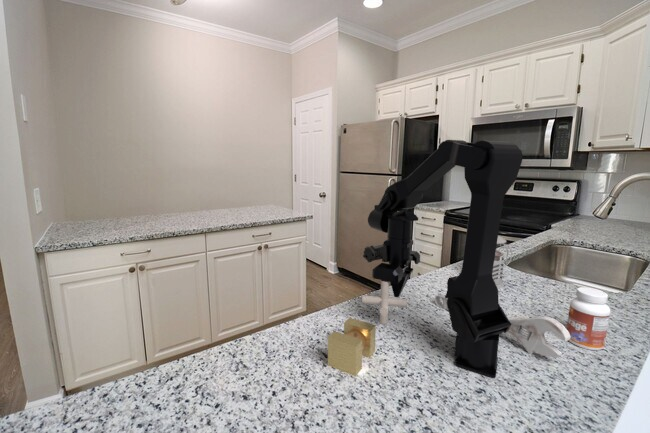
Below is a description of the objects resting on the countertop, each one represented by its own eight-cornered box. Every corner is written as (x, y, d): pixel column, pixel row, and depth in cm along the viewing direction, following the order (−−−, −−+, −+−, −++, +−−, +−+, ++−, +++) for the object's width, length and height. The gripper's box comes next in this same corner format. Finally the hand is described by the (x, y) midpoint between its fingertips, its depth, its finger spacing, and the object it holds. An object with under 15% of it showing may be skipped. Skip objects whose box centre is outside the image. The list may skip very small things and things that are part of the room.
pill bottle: (557, 334, 66) (564, 285, 64) (586, 334, 66) (594, 285, 64) (581, 351, 60) (589, 298, 58) (613, 351, 60) (622, 298, 58)
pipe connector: (407, 335, 65) (409, 291, 63) (360, 330, 67) (361, 287, 65) (404, 313, 75) (406, 274, 73) (363, 309, 77) (364, 271, 75)
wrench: (439, 313, 81) (571, 367, 54) (434, 315, 80) (565, 370, 53) (438, 284, 80) (571, 323, 54) (433, 285, 80) (565, 325, 53)
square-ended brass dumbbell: (349, 343, 62) (349, 317, 61) (374, 351, 59) (375, 325, 58) (327, 365, 55) (328, 337, 54) (355, 376, 52) (356, 346, 51)
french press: (463, 277, 99) (469, 200, 95) (496, 275, 101) (504, 200, 96) (482, 289, 90) (489, 204, 86) (518, 287, 91) (527, 204, 87)
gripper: (382, 226, 87) (380, 279, 89) (352, 240, 71) (351, 302, 74) (422, 231, 81) (419, 287, 84) (398, 246, 65) (396, 314, 68)
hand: (396, 296), depth 77 cm, fingers closed
